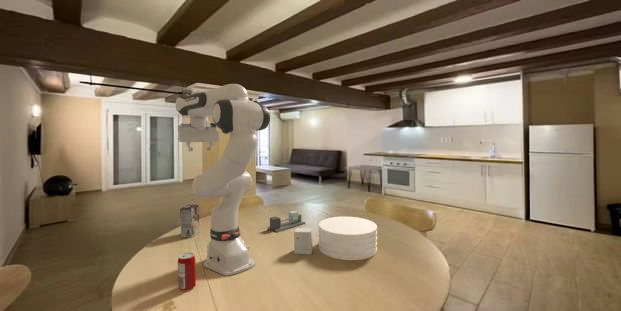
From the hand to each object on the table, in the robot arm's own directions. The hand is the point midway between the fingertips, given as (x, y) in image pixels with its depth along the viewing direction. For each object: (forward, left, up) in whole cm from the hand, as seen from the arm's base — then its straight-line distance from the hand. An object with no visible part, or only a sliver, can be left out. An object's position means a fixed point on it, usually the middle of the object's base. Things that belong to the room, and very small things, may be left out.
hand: (200, 150), depth 136 cm
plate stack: (-59, -47, -48) cm, 89 cm away
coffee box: (+13, +2, -47) cm, 49 cm away
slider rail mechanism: (-13, -46, -47) cm, 67 cm away
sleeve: (-13, -51, -45) cm, 69 cm away
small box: (-48, -28, -47) cm, 73 cm away
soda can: (-42, +22, -47) cm, 67 cm away
